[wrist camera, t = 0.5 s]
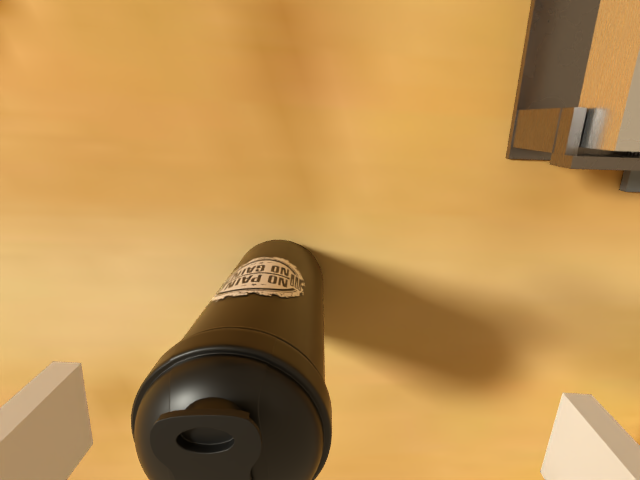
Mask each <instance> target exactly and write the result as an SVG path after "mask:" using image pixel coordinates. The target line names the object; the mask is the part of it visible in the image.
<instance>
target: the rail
mask: <svg viewBox="0 0 640 480" xmlns="http://www.w3.org/2000/svg"><path fill="white" fill-rule="evenodd" d="M578 107H583V108H587V111H586V116H585V120H584V125H583V130H582V134H581V139H580V144H579V147H583V148H592V149H601V150H610V151H631V152H640V0H601V1H600V6H599V10H598V15H597V20H596V25H595V29H594V34H593V39H592V44H591V49H590V53H589V58H588V63H587V68H586V72H585V77H584V82H583V87H582V91H581V96H580V101H579V106H578Z"/></svg>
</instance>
